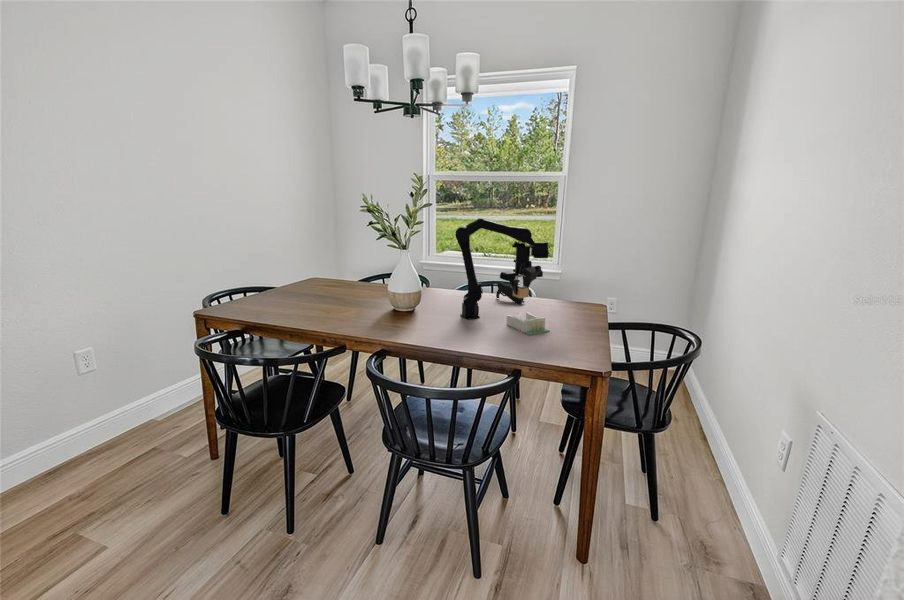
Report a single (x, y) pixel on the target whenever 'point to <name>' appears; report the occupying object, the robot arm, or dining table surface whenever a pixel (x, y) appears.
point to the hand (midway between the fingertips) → (520, 294)
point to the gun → (508, 292)
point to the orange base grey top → (522, 292)
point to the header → (528, 324)
